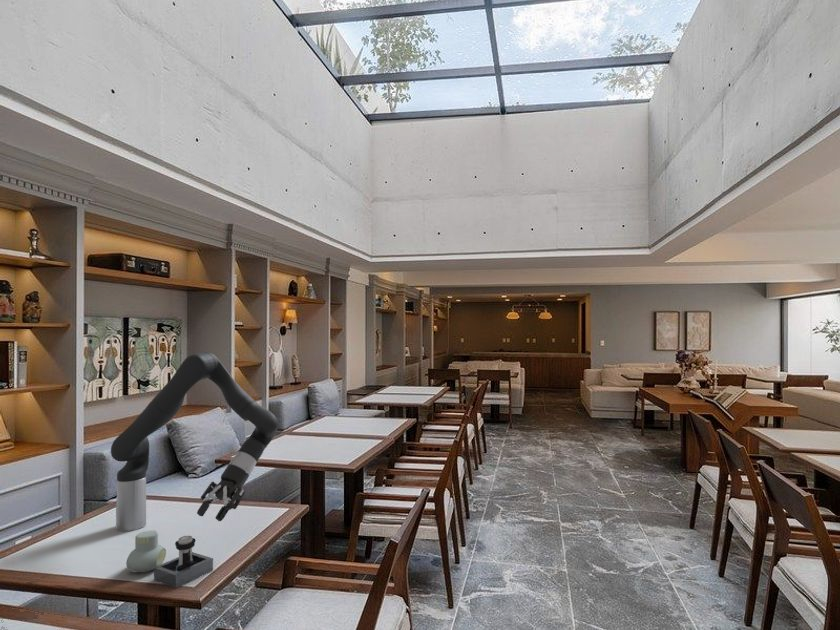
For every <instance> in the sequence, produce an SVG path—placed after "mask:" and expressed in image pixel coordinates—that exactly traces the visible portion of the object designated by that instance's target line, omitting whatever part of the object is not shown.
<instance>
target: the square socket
mask: <svg viewBox="0 0 840 630" xmlns="http://www.w3.org/2000/svg"><path fill="white" fill-rule="evenodd" d="M192 559H193V560H192V561H193V562H195V565H192V566H190V567H188V568H186V569H184V570H181V571H179V572H175V571H176V566H178V563H179V556H178V557H175V558H172V559H170V560H168V561H166V562H163V563H162V564H161V565H159V566H156V567H154V570H153V581H156V582H158V583H160V584H163V585H166V586H168V587H171V588H174V589H178V588H180V587H182V586H184V585H186V584H188V583H190V582H192V581H194V580H196V579H199V578H201V577H203V576H204V574H205V575H207V574H209V573H211V572H213V571H214V558H212V557H210V556H208V555H203V554H200V553H197V552H194V551H192ZM212 570H213V571H212ZM210 571H211V572H210ZM208 572H209V573H208ZM206 573H207V574H206ZM202 575H203V576H202ZM200 576H201V577H200Z"/></svg>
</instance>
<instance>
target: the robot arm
mask: <svg viewBox="0 0 840 630" xmlns="http://www.w3.org/2000/svg"><path fill="white" fill-rule="evenodd" d="M204 379H209V380H210V381H212V382H213V383H214V384H215V385H216V386H217V387H218V388H219V389H220V391H221V393H222V395H223V397H224V401H225V403H227V406H229V408H230V409H231V410H232V411H233V412H234V413H235V414H237V416H239V417H240V418H241V419H242V420H243V421H246V422H247V421H249V422H250V423H251V424H253V426H255V428H254V430H253V431H252V433H251V434H250V436H249V437H248V438H247V439H246V440H245V441H244V442H243V444H242V445H241V446H240V448H239V449H238V451H237V452H236V454H235V455H233V457H232V458H231V460H230V462H229V463H228V465H227V466H226V468H225V469H224V470H223V472H222V473H221V476H220V482H219V483H215V481H211V482H210V483H209V485H208V486H207V488H206V489H205V490H204V492H203V494H201V496H200V499H201V500H202V503H201V504H200V506H199V508H198V509H197V512H196V514H197V515H198V516H199V517H204V515H205V514H206V512H207V510H208V509H210V506H211V505H212V504H213V503H215V502H218V501H223V505H222V506H221V507H220V509H219V511H218V512H217V514H216V516H214V517H215V520H217V522H222V521H223V520H224V518H225V517H226V515H227V513H229V511H231V510H237V508H238V506H239V505H240V503H241V500H242V499H243V497H244V495H245V493H246V491H245V490H244V489H243V487H244V485H245V484H246V482H247V480H248V479H249V477H250V475H251V474H252V472H253V471H254V469H255V466H256V465H257V463H258V462H259V460H260V458H261V457H262V455H263V453H264V451H265V449H266V448H267V447H268V445H269V444H270V443H271V441H272V440H273V439H274V437H275V436H276V434H277V431H278V427H279V420H278V418H277V417H276V415H275V414H274V413H272V412H271V411H270V410H269V409H267V408H265V407H263V406H261V405H260V404H259V403H258V402H257V401H255V399H254V398H253V397H252V396H250V395H249V394H248V393H247V392H246V391H245V390H244V389H243V388H242V387H241V386H240V385H239V384H238V382H237V381H236V380H235V379H234V377H232V375H231V374H230V373H229V371H228V370H227V369H226V367H225V366H224V364H223V363H222V362H221V360H220V359H219V358H218V357H217V356H216V355H215V354H214V353H212V352H210V351H202V352H196V353H192V354H190V355H188V356H187V357H186V358H185V359H183V361H182V362H181V364H180V365H179V367H178V369H177V370H176V371H175V373H174V374H173V376H172V377H171V379H170V380H169V381H168V382H167V383H166V384H165V385H164V386H163V387H162V388H161V390H160V391H159V392H158V393H156V395H155V396H154V397H153V399H151V401H150V402H149V403H148V404H147V405H146V407H145V408H144V410H142V412H141V413H140V414H139V415H138V416H137V418H135V420H134V421H133V422H132V423H131V424H130V425H129V426H127V427H126V428H125V429H124V430H123V432H121V433H120V434H119V435H118V436H117V437H116V438H115V439H114V440H113V442H112V444H111V447H110V455H111V457H112V459H114V460H115V461H117V462H126V463H125V465H123V467H121V469H120V470H118V472H117V473H116V501H115V517H116V518H115V526H116V531H117V530H118V531H119V532H129V531H130V532H131V531H136V530H138V529H141V528H143V526H144V527H145V526H146V525H147V471H148V469H149V463H150V442H149V441H150V440H149V438H148V437H149V436H150V435H152V434H153V433H155V432H156V431H158V430H160V429H161V428H162V427H163V426H166V425H167V424H168V423H169V422H170V421H171V420H172V419H173V418H174V417H175V416H176V414H177V413H179V411H180V410H181V408H182V406H183V403H184V401H185V396H186V394H188V392H189V391H190V390H191V388H193V387H194V386H195V385H196V384H197V383H198V382H199V381H201V380H204Z"/></svg>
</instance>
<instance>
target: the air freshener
mask: <svg viewBox="0 0 840 630" xmlns="http://www.w3.org/2000/svg"><path fill="white" fill-rule="evenodd" d="M158 534H159V532H158V531H156V530H145V531H141V532H139V533H137V534H136V535H135V537H134V538H135V539H134V540H135V542H134V544H135V546H134V547H135V548H134V549H133V550H132V551H131V552H130V553H129V555H128V557H127V558H126V563H125V564H126V568H127V569H128V570H130V571H132V572H134V573H146V572H151V571H154V567H156V566H159V565H161V564H163V563H165V562H164V561H165V560H166V557H167V556H166V555H167V549H166V547H164V546H163V545H161V544H159V535H158Z"/></svg>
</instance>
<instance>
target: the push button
mask: <svg viewBox="0 0 840 630" xmlns="http://www.w3.org/2000/svg"><path fill="white" fill-rule="evenodd" d="M174 544H175V545H174V546H175V549H176V550H178V557H179V563H178V566H176V571H175V572H179V571H181V570H184V569H186V568H188V567H190V566H192V565H195V562H193V561H192V560H193V559H192V552H193V548H194V547H195V546H196V545H195V544H196V538H194V537H193V536H192V535H182V536H181V537H179V538H178V540H177V541H175V543H174Z"/></svg>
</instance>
